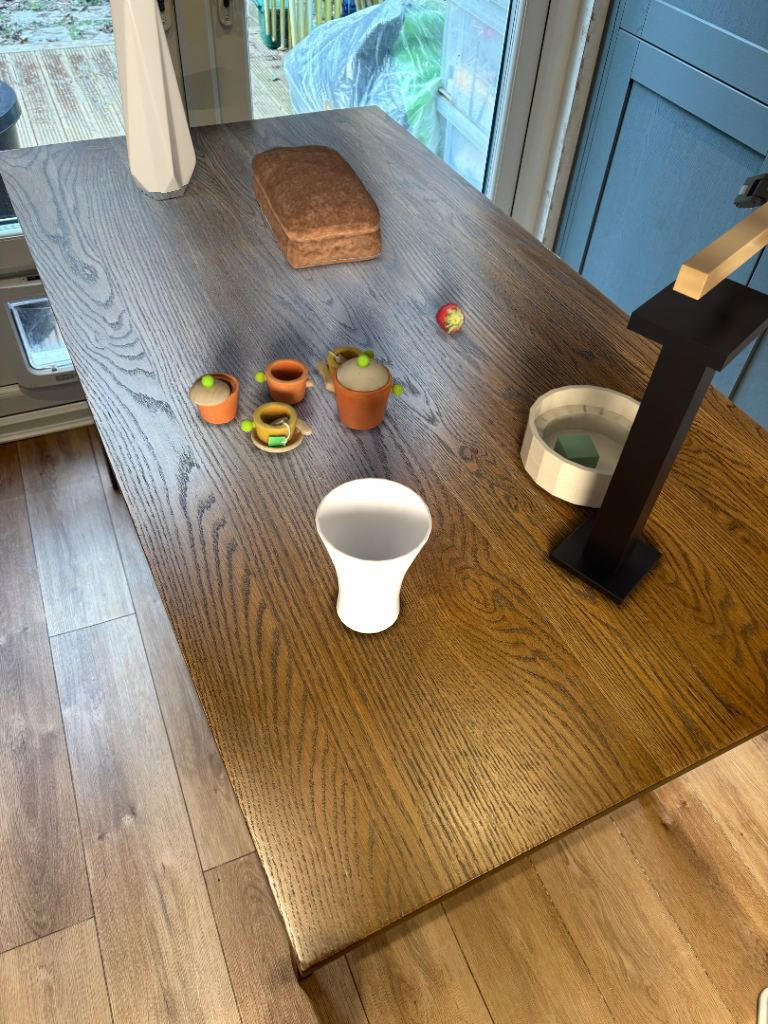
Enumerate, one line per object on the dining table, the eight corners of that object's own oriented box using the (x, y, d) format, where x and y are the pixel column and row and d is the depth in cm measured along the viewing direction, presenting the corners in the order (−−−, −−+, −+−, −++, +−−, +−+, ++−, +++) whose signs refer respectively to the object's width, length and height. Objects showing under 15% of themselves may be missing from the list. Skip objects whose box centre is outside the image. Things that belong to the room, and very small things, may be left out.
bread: (335, 188, 144) (336, 125, 136) (385, 262, 126) (390, 194, 117) (248, 196, 140) (243, 131, 132) (286, 274, 121) (284, 205, 113)
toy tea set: (362, 358, 107) (365, 297, 100) (413, 423, 97) (420, 361, 90) (182, 402, 98) (170, 339, 91) (219, 478, 89) (210, 414, 81)
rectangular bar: (798, 193, 66) (809, 170, 65) (821, 201, 65) (832, 178, 64) (671, 289, 53) (681, 263, 52) (697, 300, 53) (708, 274, 51)
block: (581, 458, 94) (589, 434, 91) (591, 480, 91) (600, 456, 88) (550, 460, 93) (557, 435, 90) (559, 482, 90) (567, 458, 88)
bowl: (649, 434, 99) (664, 398, 94) (653, 523, 88) (670, 486, 83) (525, 412, 100) (534, 375, 96) (513, 496, 89) (523, 459, 85)
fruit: (455, 317, 115) (459, 288, 112) (467, 339, 111) (472, 310, 108) (429, 320, 114) (432, 290, 111) (440, 342, 111) (444, 312, 107)
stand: (593, 515, 88) (689, 262, 65) (662, 557, 84) (791, 304, 61) (541, 566, 82) (626, 309, 59) (612, 614, 78) (734, 358, 55)
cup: (295, 609, 76) (290, 519, 66) (363, 551, 82) (368, 461, 72) (372, 670, 72) (380, 583, 62) (439, 605, 78) (455, 516, 68)
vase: (115, 191, 138) (71, -24, 114) (166, 174, 144) (134, -34, 121) (158, 213, 133) (121, -7, 109) (208, 194, 139) (184, -18, 116)
